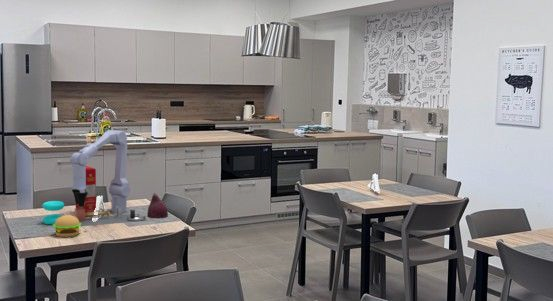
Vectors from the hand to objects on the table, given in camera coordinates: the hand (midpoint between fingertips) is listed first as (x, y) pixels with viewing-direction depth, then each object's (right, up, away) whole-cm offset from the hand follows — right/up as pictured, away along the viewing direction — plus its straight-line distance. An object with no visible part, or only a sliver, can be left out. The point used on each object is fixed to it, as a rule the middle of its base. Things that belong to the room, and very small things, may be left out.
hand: (79, 205), depth 288 cm
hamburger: (+2, -11, -23) cm, 26 cm away
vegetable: (+35, -8, +15) cm, 39 cm away
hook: (+5, -7, +4) cm, 10 cm away
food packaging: (-2, -7, +16) cm, 17 cm away
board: (+14, -9, +4) cm, 17 cm away
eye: (+16, -7, +10) cm, 20 cm away
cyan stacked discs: (-12, -9, -1) cm, 15 cm away
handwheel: (+26, -8, +6) cm, 28 cm away
